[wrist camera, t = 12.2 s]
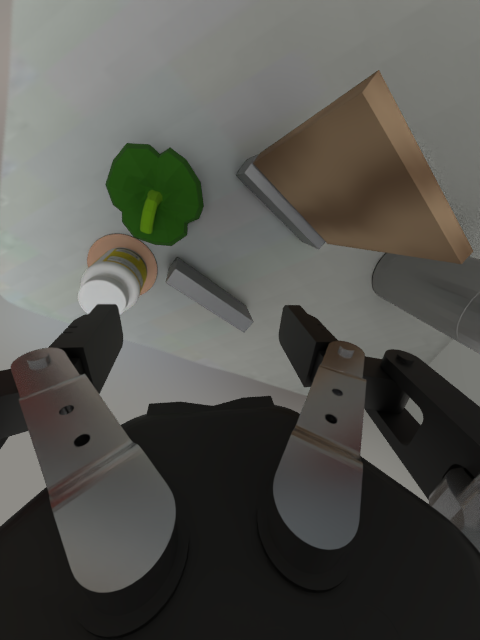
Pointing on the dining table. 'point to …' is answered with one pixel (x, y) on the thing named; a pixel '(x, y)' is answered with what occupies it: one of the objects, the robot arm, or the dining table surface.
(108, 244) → the coaster
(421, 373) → the robot arm
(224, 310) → the rails
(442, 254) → the tan flat square panel
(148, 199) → the bell pepper
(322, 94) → the dining table surface
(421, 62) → the dining table surface
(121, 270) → the supplement bottle
